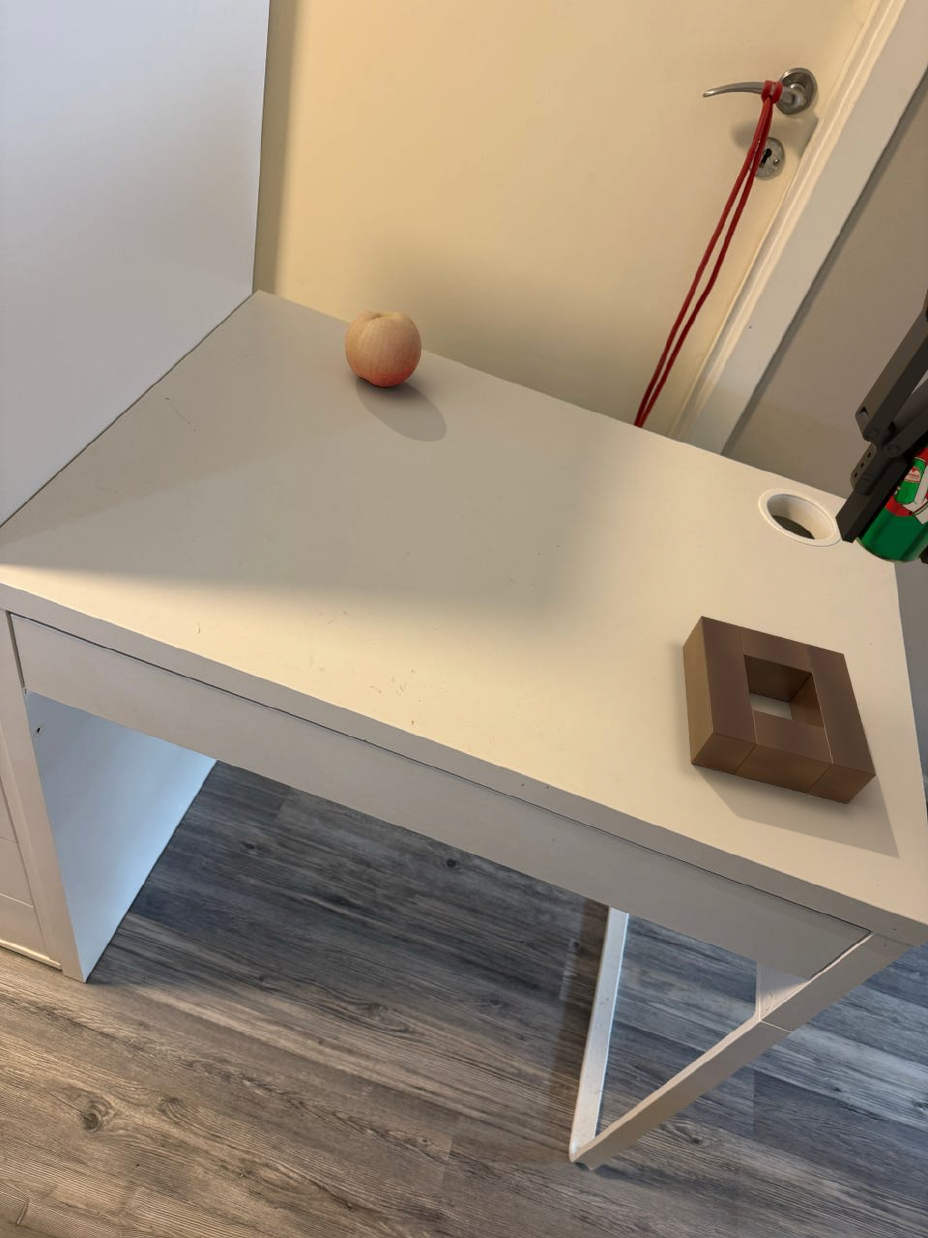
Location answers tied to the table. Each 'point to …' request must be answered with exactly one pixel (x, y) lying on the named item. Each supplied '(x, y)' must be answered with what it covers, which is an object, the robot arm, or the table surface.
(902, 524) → the soda can
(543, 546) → the table surface
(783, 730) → the holder
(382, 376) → the fruit
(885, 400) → the robot arm
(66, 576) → the table surface
